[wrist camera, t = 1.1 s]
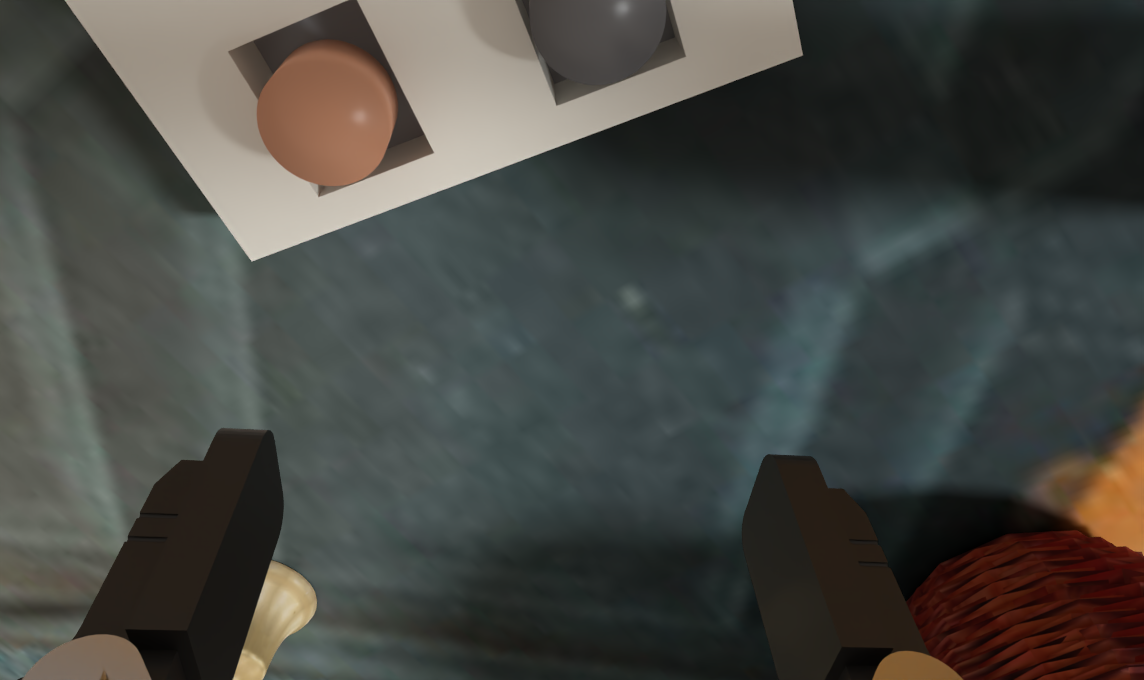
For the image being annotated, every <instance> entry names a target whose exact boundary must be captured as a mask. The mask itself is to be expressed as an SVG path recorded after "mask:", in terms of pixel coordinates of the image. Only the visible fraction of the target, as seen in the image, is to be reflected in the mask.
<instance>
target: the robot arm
mask: <svg viewBox="0 0 1144 680" xmlns="http://www.w3.org/2000/svg"><path fill="white" fill-rule="evenodd" d="M283 508H284V500H283V491H282V484H281V478H280V472H279V465H278V459H277V453H276V446H275V440H274V436H273V433H272V432H271V431H270V430H253V429H231V428H221V429H220V430H218V432H217V433H216V435H215V437H214V439H213V441H212V443H211V445H210V447H209V450H208V452H207V454H206V456H205V458H204V460H203V461H194V460H181V461H180V462H179V463H178V464H176V465H175V466H174V467H173V468H172V469H171V470H170V471H169V472H168V473H166V474H165V475H164V476H163V477H162V478H161V479H160V480H159V481H158V482H156V483H155V484H154V486H153V488H152V490H151V492H150V494H149V496H148V498H147V500H146V502H145V504H144V506H143V508H142V509H141V511H140V517H139V518H137V519H136V521H135V523H134V525H133V527H132V529H131V531H130V533H129V535H128V540H127V542H124V544H123V546H122V548H121V550H120V552H119V554H118V556H117V558H116V560H115V562H114V564H113V566H112V567H111V569H110V571H109V573H108V575H107V577H106V579H105V581H104V583H103V585H102V587H101V589H100V591H99V593H98V595H97V596H96V598H95V600H94V602H93V604H92V606H91V608H90V610H89V612H88V614H87V616H86V618H85V620H84V622H83V624H82V625H81V627H80V629H79V631H78V632H77V634H76V636H75V637H74V638H73V639H72V641H70V642H67V643H65V644H63V645H61V646H59V647H57V648H55V649H54V650H52V651H51V652H49V653H48V654H46V655H45V656H44V657H42V658H41V659H40V660H39V661H38V662H37V663H35V665H34V666H33V667H32V668H31V669H30V670H29V671H28V672H27V674H26V675H25V676H24V677H22V678H20V679H18V680H233V678H234V675H235V672H236V669H237V665H238V662H239V659H240V656H241V653H242V650H243V647H244V644H245V641H246V637H247V634H248V631H249V628H250V625H251V622H252V619H253V616H254V613H255V609H256V606H257V603H258V600H259V597H260V594H261V591H262V588H263V585H264V582H265V578H266V575H267V572H268V569H269V566H270V563H271V560H272V557H273V554H274V550H275V547H276V544H277V541H278V538H279V535H280V531H281V526H282V520H283ZM742 544H743V550H744V555H745V558H746V562H747V566H748V569H749V573H750V577H751V580H752V584H753V588H754V591H755V595H756V598H757V602H758V606H759V609H760V613H761V617H762V620H763V624H764V628H765V631H766V635H767V639H768V642H769V646H770V650H771V653H772V657H773V661H774V664H775V668H776V672H777V675H778V679H779V680H963V679H962V678H961V677H960V676H959V675H958V674H957V673H956V672H955V671H954V670H952V669H951V668H950V667H949V666H947V665H946V664H944V663H943V662H941V661H940V660H938V659H935V658H933V657H931V656H930V654H929V652H928V650H927V648H926V646H925V644H924V641H923V639H922V637H921V635H920V633H919V630H918V628H917V626H916V624H915V621H914V619H913V617H912V615H911V613H910V610H909V608H908V606H907V604H906V601H905V599H904V597H903V595H902V593H901V590H900V588H899V586H898V584H897V581H896V579H895V577H894V575H893V573H892V570H891V568H888V565H887V564H888V561H887V559H886V557H885V555H884V553H883V550H882V548H881V546H878V539H877V537H876V535H875V533H874V530H873V528H872V526H871V524H870V521H869V519H868V517H867V515H866V513H865V512H864V511H863V510H862V509H861V507H860V506H859V505H858V504H857V503H856V502H855V501H854V500H853V499H852V498H851V497H850V496H849V495H848V494H847V492H846V491H845V490H844V489H834V488H828V487H827V485H826V483H825V480H824V478H823V475H822V473H821V470H820V468H819V466H818V464H817V462H816V460H815V459H814V458H813V457H811V456H794V455H771V454H768V455H766V456H765V457H764V459H763V461H762V463H761V466H760V469H759V472H758V475H757V478H756V481H755V484H754V487H753V490H752V493H751V496H750V499H749V502H748V505H747V507H746V510H745V513H744V517H743V524H742Z"/></svg>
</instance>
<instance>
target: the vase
mask: <svg viewBox="0 0 1144 680" xmlns="http://www.w3.org/2000/svg"><path fill="white" fill-rule="evenodd" d="M906 604H907V606H908V608H909V610H910V613H911V615H912V617H913V619H914V621H915V624H916V626H917V628H918V630H919V633H920V635H921V637H922V639H923V641H924V644H925V646H926V648H927V650H928V652H929V654H930V656H931V657H933V658H935V659H938V660H940V661H941V662H943V663H944V664H946V665H947V666H949V667H950V668H951V669H952V670H954V671H955V672H956V673H957V674H958V675H959V676H960V677H961V678H962V679H963V680H1144V556H1143V554H1142V552H1134V551H1132V550H1131V549H1129V548H1127V547H1126V546H1125V547H1116V546H1114V545H1113V544H1112V543H1109V542H1108V541H1106V540H1104V539H1103V538H1101V537H1090V538H1089V537H1087V536H1086V535H1084V534H1082V533H1081V532H1079V531H1077V530H1074V531H1050V532H1034V533H1014V534H1006V535H1004V536H1001V537H999V538H997V539H995V540H992V541H990V542H988V543H986V544H983V545H981V546H979V547H976V548H974V549H972V550H970V551H967V552H965V553H963V554H961V555H958V556H956V557H954V558H951V559H949V560H947V561H945V562H942V563H940V564H939V565H938V566H937V568H936V569H935V570H934V571H933V572H932V573H931V574H930V575H929V577H928V578H927V579H926V580H925V581H924V582H923V583H922V585H921V586H919V587H918V588H916V591H915V592H914V594H913V595H912V596H911V597H910V598H909V599H908V600H907V602H906Z"/></svg>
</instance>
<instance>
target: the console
mask: <svg viewBox="0 0 1144 680" xmlns="http://www.w3.org/2000/svg"><path fill="white" fill-rule="evenodd" d="M665 1H666V21H665V27H664V31H663V34H662V38H661V40H660V42H659V45H658V47H657V48H656V50H655V52H654V53H653V55H652V56H651V57H650V59H649V60H648V61H647V62H646V63H645V64H644V65H643V66H642V67H641V68H640V69H639V70H638V71H636V72H635V73H634V74H632V75H630V76H629V77H627V78H625V79H623V80H620V81H618V82H614V83H611V84H606V85H586V84H581V83H577V82H574V81H572V80H569V79H567V78H565V77H563V76H562V75H560V74H559V73H557V72H556V71H555V70H554V69H553V68H552V67H550V66H549V65H548V63H547V62H546V61H545V60H544V59H543V57H542V56H541V54H540V52H539V51H538V49H537V46H536V44H535V42H534V39H533V36H532V32H531V26H530V9H529V0H65V2H66V3H67V4H68V6H69V7H70V8H71V10H72V11H73V13H74V14H75V15H76V17H77V18H78V20H79V21H80V22H81V24H82V25H83V27H84V28H85V29H86V31H87V32H88V34H89V35H90V36H91V38H92V39H93V41H94V42H95V43H96V45H97V46H98V48H99V49H100V50H101V52H102V53H103V55H104V56H105V57H106V59H107V60H108V62H109V63H110V64H111V66H112V67H113V68H114V70H115V71H116V73H117V74H118V75H119V77H120V78H121V80H122V81H123V82H124V84H125V85H126V87H127V88H128V89H129V91H130V92H131V94H132V95H133V96H134V98H135V99H136V101H137V102H138V103H139V105H140V106H141V108H142V109H143V110H144V112H145V113H146V115H147V116H148V117H149V119H150V120H151V122H152V123H153V124H154V126H155V127H156V128H157V130H158V131H159V133H160V134H161V135H162V137H163V138H164V140H165V141H166V142H167V144H168V145H169V147H170V148H171V149H172V151H173V152H174V154H175V155H176V156H177V158H178V159H179V161H180V162H181V163H182V165H183V166H184V168H185V169H186V170H187V172H188V173H189V175H190V176H191V177H192V179H193V180H194V182H195V183H196V184H197V186H198V187H199V188H200V190H201V191H202V193H203V194H204V195H205V197H206V198H207V200H208V201H209V202H210V204H211V205H212V207H213V208H214V209H215V211H216V212H217V214H218V215H219V216H220V218H221V219H222V221H223V222H224V223H225V225H226V226H227V228H228V229H229V230H230V232H231V233H232V235H233V236H234V237H235V239H236V240H237V242H238V243H239V244H240V246H241V247H242V248H243V250H244V251H245V253H246V254H247V255H248V257H249V258H250V260H251V261H254V260H257V259H260V258H262V257H265V256H268V255H270V254H273V253H276V252H278V251H281V250H284V249H286V248H289V247H292V246H294V245H297V244H300V243H302V242H305V241H308V240H310V239H313V238H316V237H318V236H321V235H324V234H326V233H329V232H332V231H334V230H337V229H340V228H342V227H345V226H348V225H350V224H353V223H356V222H358V221H361V220H364V219H367V218H369V217H372V216H375V215H377V214H380V213H383V212H385V211H388V210H391V209H393V208H396V207H399V206H401V205H404V204H407V203H409V202H412V201H415V200H417V199H420V198H423V197H425V196H428V195H431V194H433V193H436V192H439V191H441V190H444V189H447V188H449V187H452V186H455V185H457V184H460V183H463V182H465V181H468V180H471V179H473V178H476V177H479V176H482V175H484V174H487V173H490V172H492V171H495V170H498V169H500V168H503V167H506V166H508V165H511V164H514V163H516V162H519V161H522V160H524V159H527V158H530V157H532V156H535V155H538V154H540V153H543V152H546V151H548V150H551V149H554V148H556V147H559V146H562V145H564V144H567V143H570V142H572V141H575V140H578V139H580V138H583V137H586V136H588V135H591V134H594V133H597V132H599V131H602V130H605V129H607V128H610V127H613V126H615V125H618V124H621V123H623V122H626V121H629V120H631V119H634V118H637V117H639V116H642V115H645V114H647V113H650V112H653V111H655V110H658V109H661V108H663V107H666V106H669V105H671V104H674V103H677V102H679V101H682V100H685V99H687V98H690V97H693V96H695V95H698V94H701V93H703V92H706V91H709V90H712V89H714V88H717V87H720V86H722V85H725V84H728V83H730V82H733V81H736V80H738V79H741V78H744V77H746V76H749V75H752V74H754V73H757V72H760V71H762V70H765V69H768V68H770V67H773V66H776V65H778V64H781V63H784V62H786V61H789V60H792V59H794V58H797V57H800V56H802V55H803V53H802V48H801V43H800V37H799V32H798V27H797V22H796V16H795V11H794V6H793V1H792V0H665ZM325 39H331V40H339V41H344V42H347V43H350V44H353V45H355V46H357V47H359V48H361V49H363V50H365V51H366V52H368V53H369V54H370V55H372V56H373V57H374V58H375V59H376V60H377V61H378V62H379V63H380V64H381V65H382V66H383V67H384V69H385V70H386V71H387V73H388V75H389V76H390V78H391V80H392V82H393V85H394V87H395V90H396V94H397V100H398V115H397V120H396V124H395V126H394V129H393V132H392V135H391V138H390V141H389V144H388V146H387V149H386V152H385V154H384V157H383V159H382V160H381V162H380V164H379V165H378V166H377V167H376V169H375V170H374V171H373V172H371V173H370V174H369V175H368V176H366V177H365V178H363V179H361V180H359V181H357V182H354V183H351V184H348V185H342V186H324V185H319V184H314V183H311V182H308V181H305V180H303V179H301V178H299V177H297V176H295V175H293V174H292V173H290V172H289V171H287V170H286V169H285V168H284V167H282V166H281V165H280V164H279V163H278V162H277V161H276V160H275V159H274V158H273V156H272V155H271V154H270V152H269V151H268V150H267V148H266V146H265V144H264V142H263V140H262V138H261V135H260V132H259V129H258V124H257V104H258V100H259V97H260V94H261V92H262V90H263V88H264V86H265V85H266V83H267V82H268V81H269V79H270V78H271V77H272V76H273V74H274V73H275V72H276V70H277V69H278V68H279V67H280V65H281V64H282V63H283V62H284V60H285V59H286V58H287V57H288V56H289V55H290V54H291V53H292V52H293V51H294V50H295V49H297V48H298V47H300V46H302V45H304V44H306V43H309V42H312V41H316V40H325Z"/></svg>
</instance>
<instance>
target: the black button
mask: <svg viewBox="0 0 1144 680" xmlns="http://www.w3.org/2000/svg"><path fill="white" fill-rule="evenodd" d="M529 9H530V26H531V32H532V36H533V39H534V42H535V44H536V46H537V49H538V51H539V52H540V54H541V56H542V57H543V59H544V60H545V61H546V62H547V63H548V65H549V66H550V67H552V68H553V69H554V70H555V71H556V72H557V73H559V74H560V75H562V76H563V77H565V78H567V79H569V80H572V81H574V82H577V83H581V84H586V85H606V84H611V83H614V82H618V81H620V80H623V79H625V78H627V77H629V76H630V75H632V74H634V73H635V72H636V71H638V70H639V69H640V68H641V67H642V66H643V65H644V64H645V63H646V62H647V61H648V60H649V59H650V57H651V56H652V55H653V53H654V52H655V50H656V48H657V47H658V45H659V42H660V40H661V38H662V34H663V31H664V27H665V21H666V1H665V0H529Z"/></svg>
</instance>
